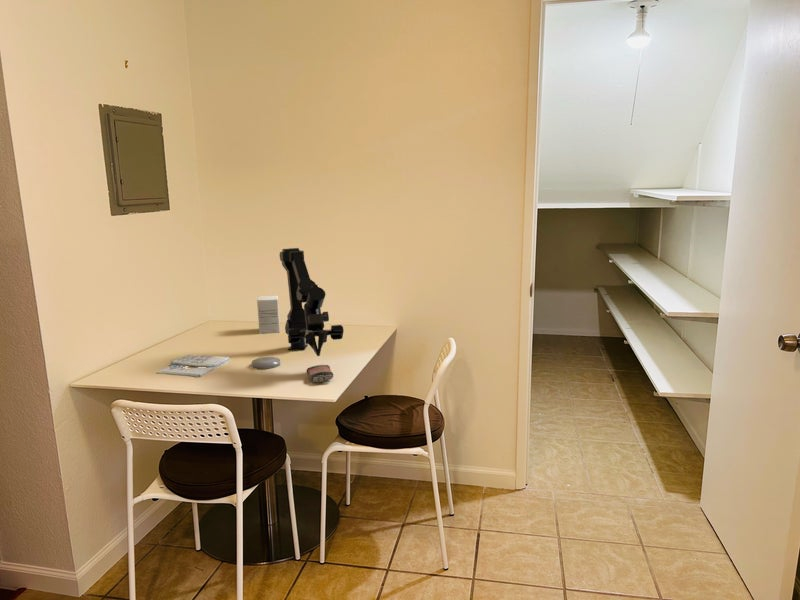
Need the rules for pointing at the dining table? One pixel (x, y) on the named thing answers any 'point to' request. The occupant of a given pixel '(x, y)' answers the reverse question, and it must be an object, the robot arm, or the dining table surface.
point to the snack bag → (196, 361)
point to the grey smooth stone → (266, 363)
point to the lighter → (319, 373)
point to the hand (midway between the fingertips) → (318, 355)
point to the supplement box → (268, 314)
